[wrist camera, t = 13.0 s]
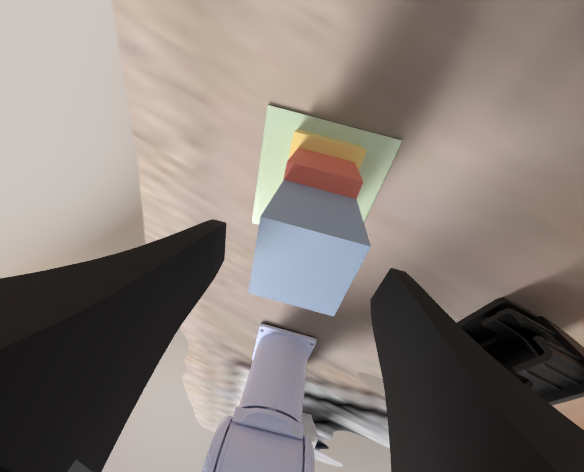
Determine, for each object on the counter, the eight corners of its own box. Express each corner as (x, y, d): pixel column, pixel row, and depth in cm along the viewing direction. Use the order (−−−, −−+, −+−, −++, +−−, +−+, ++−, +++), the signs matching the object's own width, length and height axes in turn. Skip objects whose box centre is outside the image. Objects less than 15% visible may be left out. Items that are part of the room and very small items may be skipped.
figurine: (277, 403, 42) (254, 533, 29) (325, 414, 41) (322, 552, 28) (276, 418, 45) (255, 538, 33) (319, 427, 45) (316, 555, 32)
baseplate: (350, 248, 21) (351, 249, 20) (252, 221, 21) (251, 222, 21) (401, 140, 15) (402, 140, 15) (268, 105, 15) (267, 104, 15)
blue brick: (332, 256, 13) (333, 316, 10) (271, 240, 13) (248, 292, 10) (356, 199, 11) (370, 246, 7) (283, 179, 11) (260, 216, 7)
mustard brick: (329, 234, 20) (329, 246, 18) (278, 220, 20) (273, 231, 18) (362, 146, 16) (366, 150, 14) (297, 128, 16) (294, 131, 14)
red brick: (328, 234, 18) (327, 269, 14) (282, 221, 18) (268, 253, 14) (354, 162, 14) (363, 181, 11) (298, 147, 14) (287, 161, 11)
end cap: (470, 362, 27) (508, 431, 21) (425, 340, 26) (453, 405, 20) (558, 322, 22) (640, 399, 16) (505, 292, 21) (572, 363, 15)
